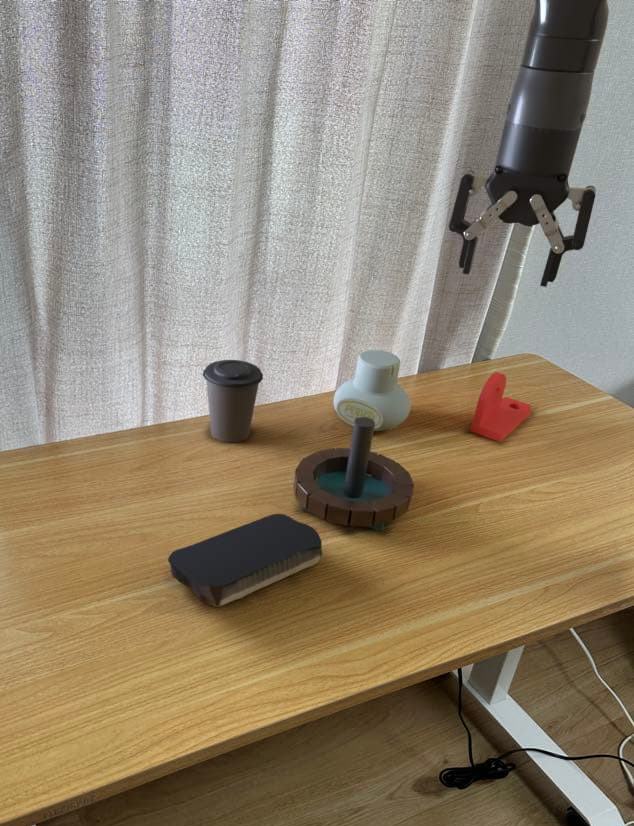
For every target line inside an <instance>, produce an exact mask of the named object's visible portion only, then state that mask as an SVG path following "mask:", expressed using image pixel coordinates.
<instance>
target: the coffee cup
mask: <svg viewBox="0 0 634 826" xmlns="http://www.w3.org/2000/svg"><path fill="white" fill-rule="evenodd" d="M202 377H203V379H204V380H205V381H206V393H207V394H206V395H207V403H208V404H207V405H208V412H209V413H208V415H209V423H210V424H209V425H210V426H209V427H210V434H211V436H212V437H213V438H214V439H216V440H217V441H220V442H224V443H240V442H243V441H245V440H246V439H248V438H249V436H250V431H251V426H252V421H253V417H254V416H253V415H254V410H255V405H256V399H257V395H258V390H259V384H260V383H261V382H262V381H263V379H264V374H263V372H262V371H261V369H260V368H259V367H258V366H257V365H255V364H253V363H252V362H248V361H243V360H239V359H221V360H217V361H213V362H211V363H209V364H208V365H206V367H205V369H203V372H202Z"/></svg>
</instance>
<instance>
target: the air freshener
mask: <svg viewBox="0 0 634 826" xmlns="http://www.w3.org/2000/svg"><path fill="white" fill-rule="evenodd" d="M400 368H401V360H400V358H399V357H398V356H397V355H396V354H395V353H392V352H390V351H387V350H382V349H368V350H365V351H362V352H361V353H360V354H358V356H357V362H356V367H355V373H354V378H351V379H348V380H347V381H345V382H344V383H342V384H341V385H340V386H339V387H338V388H337V390H336V391H335V393H334V396H333V407H334V410H335V412H336V414H337V416H339V418H340V419H341V420H342V421H343V422H345V423H346V424H347V425H350V426H352V428H353V427H354V420H355V419H356V418H359V417H367V418H370V419H372V420H374V422H375V426H374V432H382V431H387V430H391V429H393V428H396V427H397V426H399V425H401V424H402V423H403V422H405V420H406V419H407V418H408V416H409V414H410V413H411V412H410V411H411V408H412V407H411V404H412V403H411V399H410V397H409V395H408V393H407V392H406V390H405V389H404V388H403V387H402V386H400V385H399V384H398V378H399V373H400Z"/></svg>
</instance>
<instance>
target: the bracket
mask: <svg viewBox="0 0 634 826" xmlns="http://www.w3.org/2000/svg"><path fill="white" fill-rule="evenodd" d="M506 385H507V376H506V374H504V373H501V372H498V371H495V372H493V373H492V374H491V375H489V376H488V378H487V380H486V381H485V383H484V385H483V387H482V389H481V391H480V394H479V396H478V399H477V402H476V406H475V407H476V408H475V412H474V415H473V420H472V423H471V427H470V431H469V432H471V433H475V434H477V435H480V436H482V437H485V438H488V439H491V440H493V441H496V442H499V443H501V442H502V441H503V440H504V439H505V438H506V437H508V435H509V434H511V432H513V431H514V430H515V429H516V428H517V427H518V426H519V425H521V423H523V422H524V421H525V420H526V419H527V418H528V417H529V416H530V414H531V411H532V408H533V407H532V405H530V404H529V403H526V402H523V401H520V400H518V399H513V398H511V397H508V396H505V397H504V393H505V390H506Z"/></svg>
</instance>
